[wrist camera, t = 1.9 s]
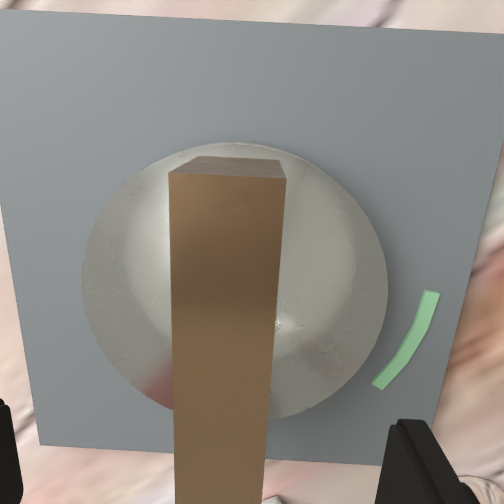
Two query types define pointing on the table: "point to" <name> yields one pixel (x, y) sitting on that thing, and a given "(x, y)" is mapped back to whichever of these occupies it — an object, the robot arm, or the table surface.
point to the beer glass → (484, 490)
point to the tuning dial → (233, 301)
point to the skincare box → (272, 500)
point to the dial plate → (257, 131)
